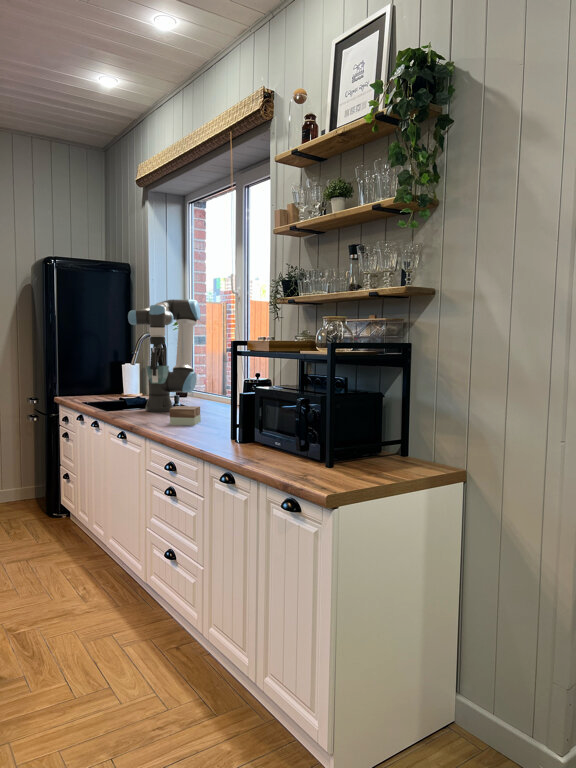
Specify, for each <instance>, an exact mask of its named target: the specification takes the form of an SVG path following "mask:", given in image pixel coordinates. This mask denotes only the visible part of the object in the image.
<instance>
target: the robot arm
mask: <svg viewBox="0 0 576 768" xmlns="http://www.w3.org/2000/svg"><path fill="white" fill-rule="evenodd" d="M127 319H128V323H129V324H130V326H131V325H133V326H146V325H147V326H149V329H148V332H149V336H150V337H149V345H153V346H152V347H150V364H149V366H150V369H152V383H158V369H157V365H159V366H166V359H165V347H163V345H166V337H165V336H166V326H169V325H171V324H172V323H173V321H175V322H176V323H177V325H178V328H177V343H176V344H177V345H176V356H175V357H176V360H175V366H173V368H172V371H170V369H169V370H168V376H167V379H166V381H165V383H162V384H152V383H151V382H150V380H149V378H148V377H147V380H148V381H147V382H148V383H147V384H148V385H147V386H148V398H147V402H146V405H145V411H146V412H152V413H161V412H164V413H165V412H169V409H171V408H173V407H174V406H173V402H172V400H171V397H170V393H185V394H186V393H191V392H193V391H195V388H196V385H197V379H198V378H197V373H196V372H195V371H194V368H193V367H192V359H193V358H192V357H193V345H194V344H193V340H194V327H195V326H196V324H197V322H198V321H199V320H200V319H201V309H200V304H199V302H198V301H197V300H196V299H190V298H189V299H187V298H185V299H167V300H163V301H160V302H156V303H155V304H151V305H150V306H149V307H147V308H142V309H134V310H133V309H132V310H130V311H129V312H128V314H127Z"/></svg>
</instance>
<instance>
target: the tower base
mask: <svg viewBox="0 0 576 768" xmlns="http://www.w3.org/2000/svg"><path fill="white" fill-rule="evenodd" d="M201 420H202V419H201V414H200V415H198V416H196V417H195V418H178V417H170V416H169V425H170V426H196V425H197V424H199V423H201Z"/></svg>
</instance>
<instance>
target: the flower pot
mask: <svg viewBox="0 0 576 768" xmlns="http://www.w3.org/2000/svg"><path fill="white" fill-rule="evenodd" d="M169 366H170V365H165V366H159V365H157V369H158V383H152V369H150V365H147V366H146V373H147V379H148V378H149V380H150V382H151V383H152V384H162V383H165V381H166V379H167V376H168V370H169V371H170V367H169Z"/></svg>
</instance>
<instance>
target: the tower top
mask: <svg viewBox="0 0 576 768" xmlns="http://www.w3.org/2000/svg"><path fill="white" fill-rule="evenodd" d="M168 412H169V413H168V414H169V418H170V417H178V418H195V417H196V416H198V415H200V416H201V406H199V405H198V406H194V405H193V406H187V405H176V406H173V408H171V409H169V411H168Z"/></svg>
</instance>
